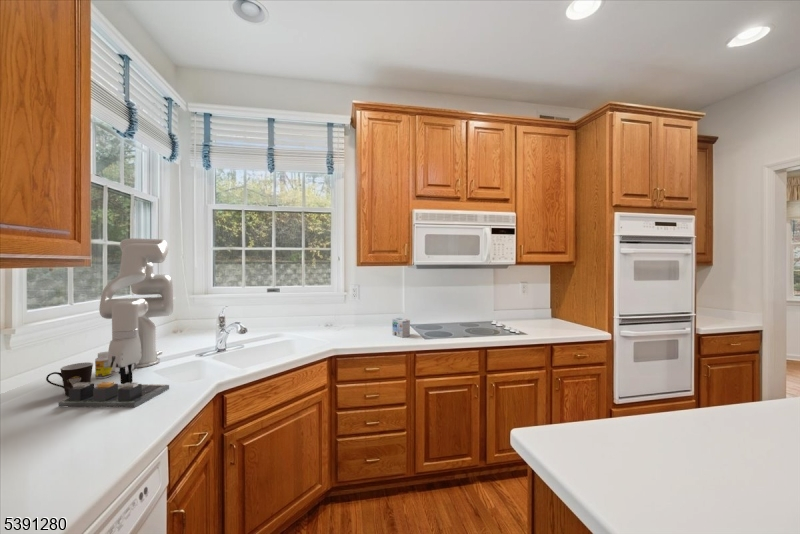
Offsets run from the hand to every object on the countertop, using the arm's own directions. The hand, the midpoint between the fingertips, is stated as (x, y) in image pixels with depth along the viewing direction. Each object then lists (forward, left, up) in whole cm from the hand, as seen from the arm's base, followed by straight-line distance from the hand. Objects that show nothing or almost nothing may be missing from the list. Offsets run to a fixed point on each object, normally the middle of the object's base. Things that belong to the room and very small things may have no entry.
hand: (126, 383), depth 122 cm
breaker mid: (+9, 0, -2) cm, 9 cm away
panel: (+4, 0, -4) cm, 5 cm away
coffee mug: (+1, -20, -4) cm, 20 cm away
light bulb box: (-95, +101, -4) cm, 139 cm away
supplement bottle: (-16, -24, -4) cm, 29 cm away
